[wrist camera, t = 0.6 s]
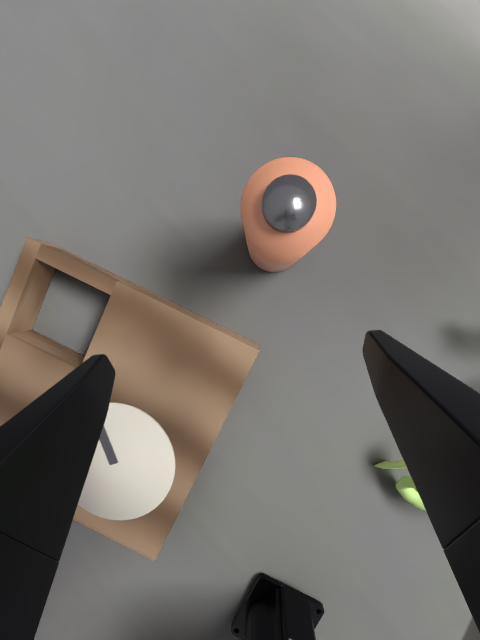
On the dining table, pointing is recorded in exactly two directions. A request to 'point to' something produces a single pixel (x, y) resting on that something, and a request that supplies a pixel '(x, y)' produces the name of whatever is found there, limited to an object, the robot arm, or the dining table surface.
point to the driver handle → (286, 211)
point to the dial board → (128, 391)
